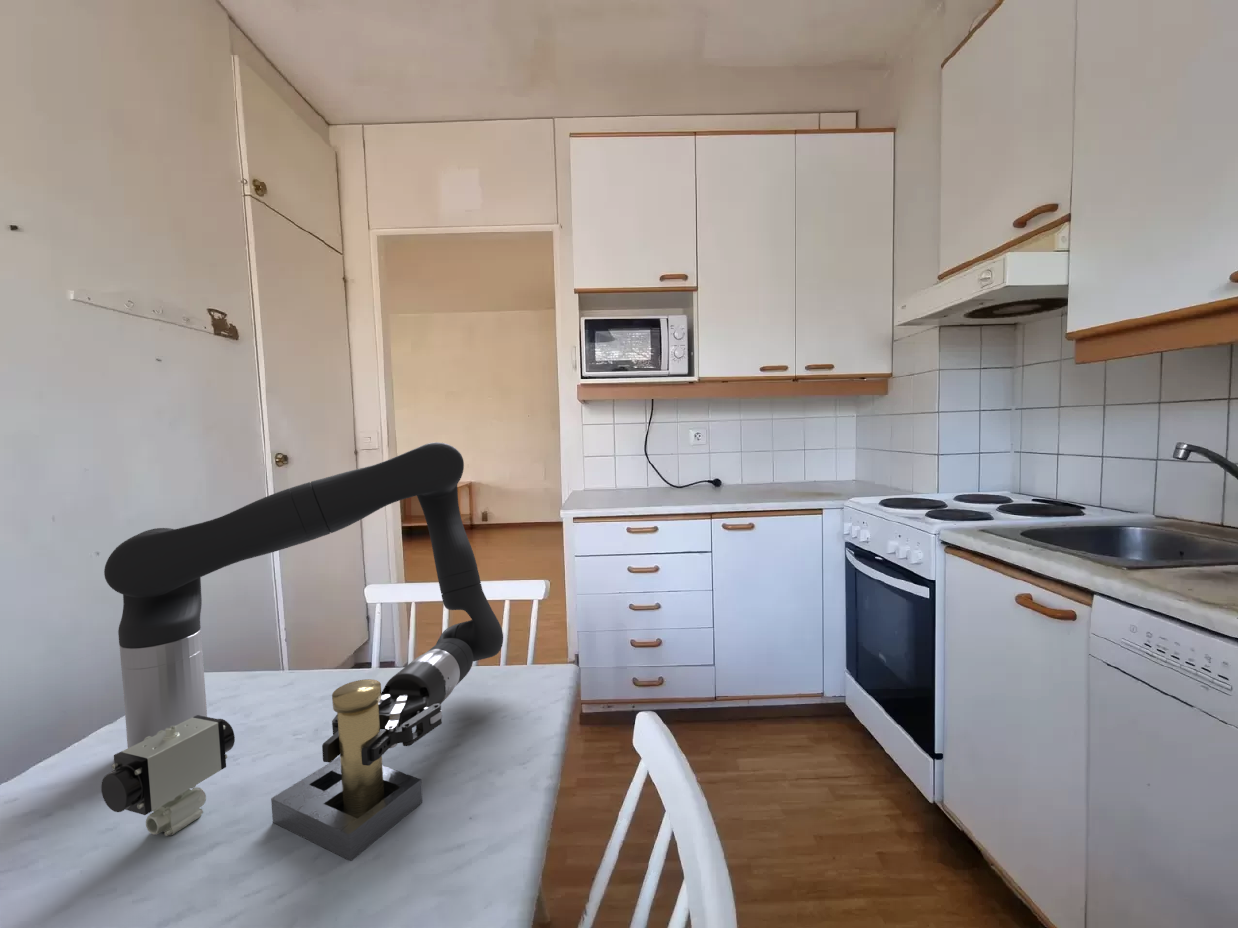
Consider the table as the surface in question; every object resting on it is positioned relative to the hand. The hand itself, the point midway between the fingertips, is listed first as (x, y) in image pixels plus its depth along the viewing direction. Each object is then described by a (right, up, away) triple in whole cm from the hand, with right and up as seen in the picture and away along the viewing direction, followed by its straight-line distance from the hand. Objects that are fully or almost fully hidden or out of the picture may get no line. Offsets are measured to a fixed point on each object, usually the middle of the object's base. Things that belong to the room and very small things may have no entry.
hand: (345, 755), depth 60 cm
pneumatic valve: (-22, -10, +3) cm, 25 cm away
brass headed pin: (+1, -8, +3) cm, 9 cm away
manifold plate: (-2, -9, +4) cm, 10 cm away
